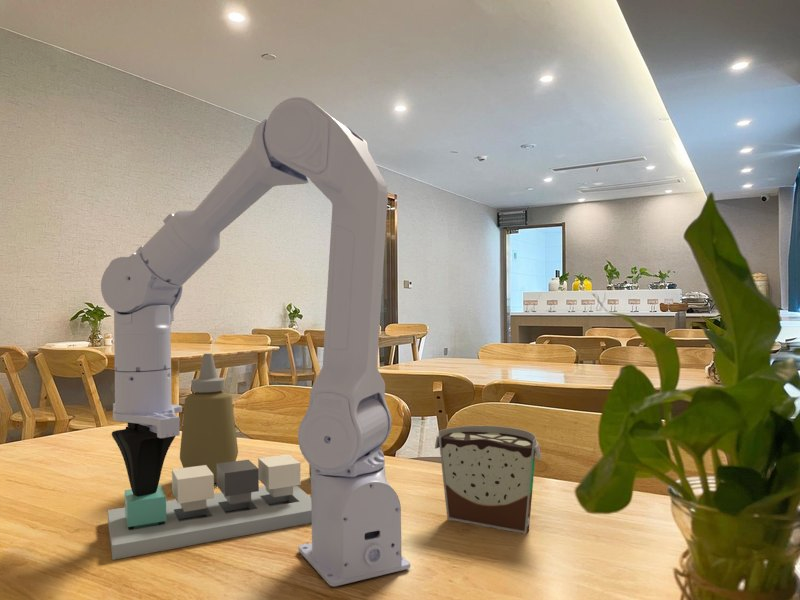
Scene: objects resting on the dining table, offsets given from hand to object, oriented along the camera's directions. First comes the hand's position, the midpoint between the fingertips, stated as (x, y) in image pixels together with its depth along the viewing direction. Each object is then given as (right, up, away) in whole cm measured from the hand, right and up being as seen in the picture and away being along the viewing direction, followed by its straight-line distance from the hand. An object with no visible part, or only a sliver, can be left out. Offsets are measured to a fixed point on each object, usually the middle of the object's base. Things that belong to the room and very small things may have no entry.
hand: (144, 493), depth 67 cm
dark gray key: (+9, -2, +5) cm, 10 cm away
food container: (+39, -4, +3) cm, 39 cm away
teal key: (0, -4, 0) cm, 4 cm away
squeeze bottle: (+1, -5, +21) cm, 21 cm away
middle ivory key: (+5, -2, +2) cm, 5 cm away
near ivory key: (+13, -2, +7) cm, 15 cm away
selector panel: (+7, -4, +3) cm, 9 cm away
